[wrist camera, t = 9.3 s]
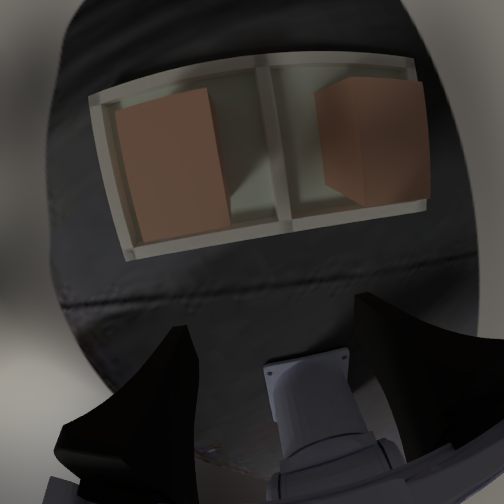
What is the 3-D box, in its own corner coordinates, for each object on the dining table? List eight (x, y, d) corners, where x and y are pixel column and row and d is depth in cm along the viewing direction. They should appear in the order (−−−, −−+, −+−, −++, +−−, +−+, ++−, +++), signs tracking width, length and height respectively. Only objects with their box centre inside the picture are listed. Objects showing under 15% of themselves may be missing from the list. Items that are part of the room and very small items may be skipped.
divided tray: (410, 203, 20) (426, 210, 18) (135, 248, 20) (126, 261, 18) (397, 63, 16) (413, 58, 14) (102, 99, 16) (88, 96, 14)
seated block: (230, 197, 18) (231, 226, 12) (168, 209, 18) (143, 242, 12) (214, 103, 16) (206, 87, 10) (150, 118, 16) (114, 111, 10)
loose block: (378, 178, 18) (430, 198, 13) (324, 184, 18) (364, 207, 13) (369, 92, 16) (422, 81, 10) (313, 93, 16) (351, 76, 10)
